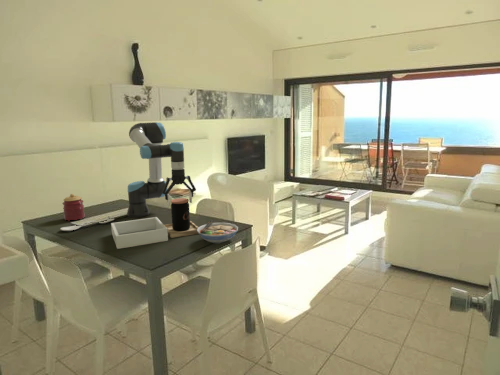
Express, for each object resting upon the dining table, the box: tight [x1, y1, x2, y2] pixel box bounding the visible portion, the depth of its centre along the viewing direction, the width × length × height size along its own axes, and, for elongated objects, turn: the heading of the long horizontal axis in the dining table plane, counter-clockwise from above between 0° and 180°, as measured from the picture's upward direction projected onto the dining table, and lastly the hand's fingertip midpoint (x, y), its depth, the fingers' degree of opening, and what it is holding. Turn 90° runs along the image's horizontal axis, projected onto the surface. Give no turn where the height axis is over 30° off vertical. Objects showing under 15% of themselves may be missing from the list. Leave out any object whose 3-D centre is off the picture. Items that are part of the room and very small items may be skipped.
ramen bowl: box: [197, 219, 239, 244], centre depth 201 cm, size 25×23×8 cm
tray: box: [164, 220, 199, 239], centre depth 221 cm, size 20×18×2 cm
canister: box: [62, 193, 86, 222], centre depth 251 cm, size 13×13×18 cm
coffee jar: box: [170, 197, 191, 231], centre depth 219 cm, size 11×11×18 cm
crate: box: [110, 216, 169, 250], centre depth 210 cm, size 27×27×7 cm
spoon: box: [59, 215, 115, 232], centre depth 233 cm, size 9×32×4 cm, turn 134°
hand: (179, 203), depth 218 cm, fingers open, 13 cm apart
